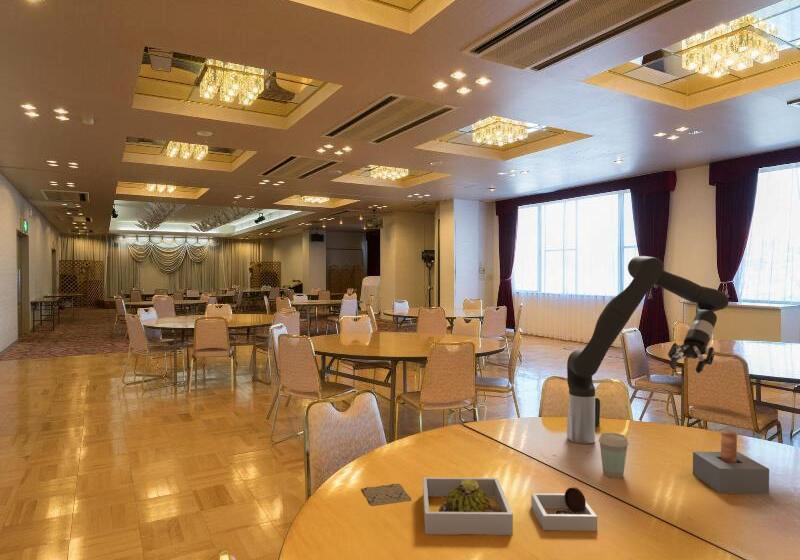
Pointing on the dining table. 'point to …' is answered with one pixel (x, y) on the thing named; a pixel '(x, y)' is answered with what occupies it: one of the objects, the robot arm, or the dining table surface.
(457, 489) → the cactus
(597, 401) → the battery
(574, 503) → the dark brown rounded piece
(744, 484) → the hole block
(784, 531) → the dining table surface
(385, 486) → the speckled stone tile
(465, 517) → the cactus tray
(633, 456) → the dining table surface
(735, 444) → the pin
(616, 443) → the coffee cup
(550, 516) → the tray
